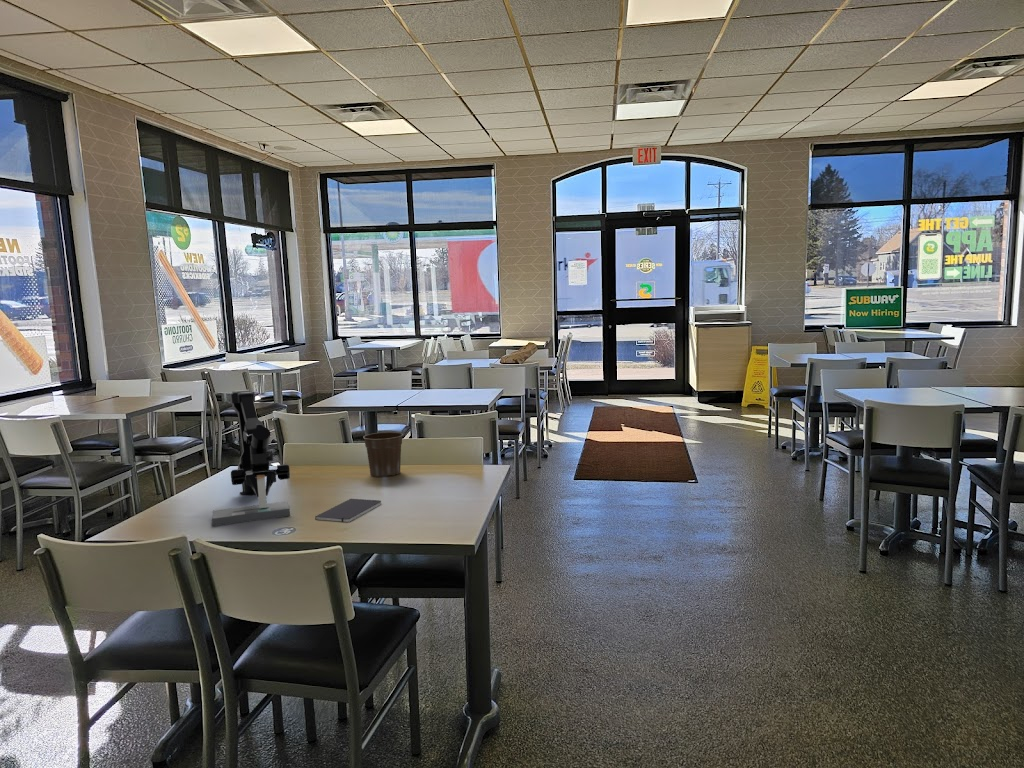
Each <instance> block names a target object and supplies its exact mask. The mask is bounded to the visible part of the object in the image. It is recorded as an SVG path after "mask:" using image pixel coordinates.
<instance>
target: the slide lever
mask: <svg viewBox="0 0 1024 768" xmlns="http://www.w3.org/2000/svg"><path fill="white" fill-rule="evenodd" d="M257 484H258V497H257V498H258V505H259V509H260V508H267V504H268V503H267V496H266V477H265V475H257Z"/></svg>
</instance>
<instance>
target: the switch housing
mask: <svg viewBox="0 0 1024 768" xmlns="http://www.w3.org/2000/svg"><path fill="white" fill-rule="evenodd" d="M290 516H291V509H290V503H289V501H288V500H286V501H278V502H271V503H267V508H260V509H259V504H256V505H255V504H253V505H248V506H247V505H246V506H238V507H231V508H222V509H215V510H213V511H212V516H211V525H212V526H213V527H215V526H223V525H229V524H237V523H244V522H252V521H260V520H266V519H267V520H268V519H273V518H282V517H290Z"/></svg>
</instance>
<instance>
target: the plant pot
mask: <svg viewBox="0 0 1024 768" xmlns="http://www.w3.org/2000/svg"><path fill="white" fill-rule="evenodd" d="M403 436H404V433H402V432H397V431H386V432H385V431H383V432H382V431H381V432H375V433H369V434H365V435H363V440H364V445H365V447H366V453H367V461H368V466H369V473H370V475H371V476H373V477H377V478H385V477H389V476H391V475H393V476H396V475H395V474H397V475H399V474H400V473H401V462H402V461H401V458H402V457H401V455H402V444H403ZM399 472H400V473H399ZM398 473H399V474H398Z"/></svg>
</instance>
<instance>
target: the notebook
mask: <svg viewBox="0 0 1024 768" xmlns="http://www.w3.org/2000/svg"><path fill="white" fill-rule="evenodd" d="M381 504H382V500H379V499H378V500H376V499H375V500H374V499H362V498H349V499H347V500H345V501H343V502H341V503H339V504H337V505H335V506H334V507H331V508H329V509H327V510H325V511H323V512H322V513H319V514H317V515H315V517H314V518H315V520H319V521H320V520H321V521H333V522H342V523H344V522H347V523H349V522H351V521H353V520H355V519H357V518H359V517H361V516H362V515H364V514H366V513H368V512H369V511H371V510H374V509H375V508H376V507H379V506H380V505H381Z"/></svg>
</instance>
